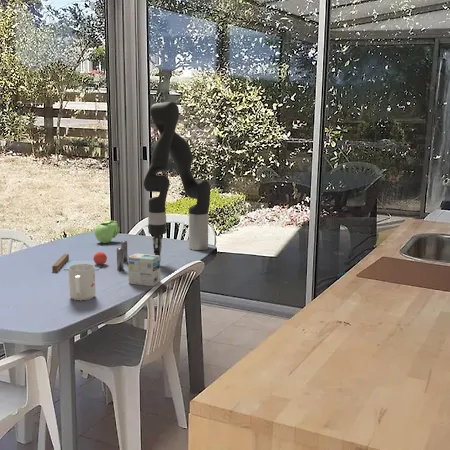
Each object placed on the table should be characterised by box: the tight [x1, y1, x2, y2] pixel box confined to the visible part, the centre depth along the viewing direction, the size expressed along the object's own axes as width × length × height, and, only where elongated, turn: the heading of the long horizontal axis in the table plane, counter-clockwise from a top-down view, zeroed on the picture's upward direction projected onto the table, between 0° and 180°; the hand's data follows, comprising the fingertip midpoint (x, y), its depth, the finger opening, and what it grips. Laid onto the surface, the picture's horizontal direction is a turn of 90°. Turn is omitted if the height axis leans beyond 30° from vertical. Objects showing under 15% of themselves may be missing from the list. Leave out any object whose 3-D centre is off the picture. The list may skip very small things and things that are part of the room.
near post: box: [116, 247, 125, 271], centre depth 237 cm, size 3×3×9 cm
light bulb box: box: [127, 252, 162, 287], centre depth 219 cm, size 11×7×11 cm, turn 71°
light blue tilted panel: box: [63, 260, 102, 271], centre depth 243 cm, size 14×14×1 cm
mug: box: [68, 264, 97, 302], centre depth 199 cm, size 12×9×11 cm
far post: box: [120, 240, 129, 263], centre depth 249 cm, size 3×3×9 cm
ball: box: [93, 251, 108, 266], centre depth 244 cm, size 6×6×6 cm
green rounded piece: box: [94, 219, 120, 244], centre depth 284 cm, size 12×11×11 cm
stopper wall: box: [51, 253, 70, 273], centre depth 243 cm, size 2×20×2 cm, turn 2°
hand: (157, 262), depth 244 cm, fingers closed
